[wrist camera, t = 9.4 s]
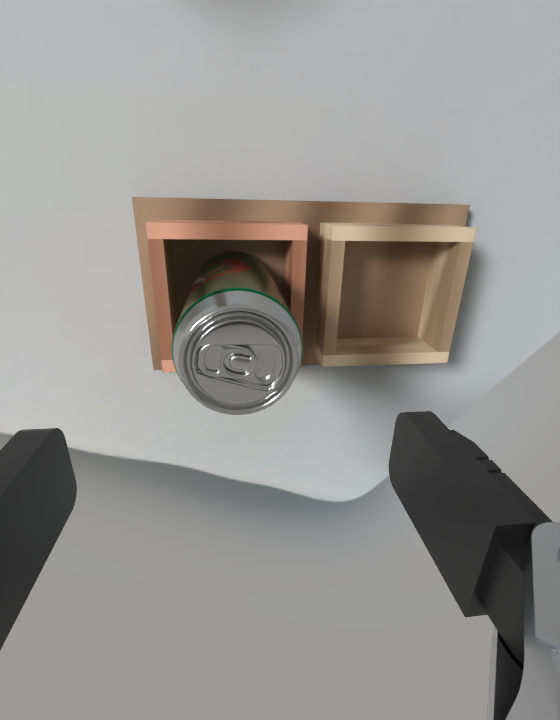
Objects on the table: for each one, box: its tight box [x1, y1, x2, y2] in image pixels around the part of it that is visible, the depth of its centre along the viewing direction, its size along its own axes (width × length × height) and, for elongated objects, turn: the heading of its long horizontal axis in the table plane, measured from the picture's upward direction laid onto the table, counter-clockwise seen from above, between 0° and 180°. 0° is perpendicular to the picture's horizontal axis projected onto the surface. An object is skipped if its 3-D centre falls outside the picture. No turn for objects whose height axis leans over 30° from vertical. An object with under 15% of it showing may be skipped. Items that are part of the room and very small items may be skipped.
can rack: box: [132, 197, 476, 372], centre depth 24 cm, size 21×11×4 cm, turn 89°
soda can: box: [171, 251, 303, 415], centre depth 19 cm, size 5×5×12 cm
